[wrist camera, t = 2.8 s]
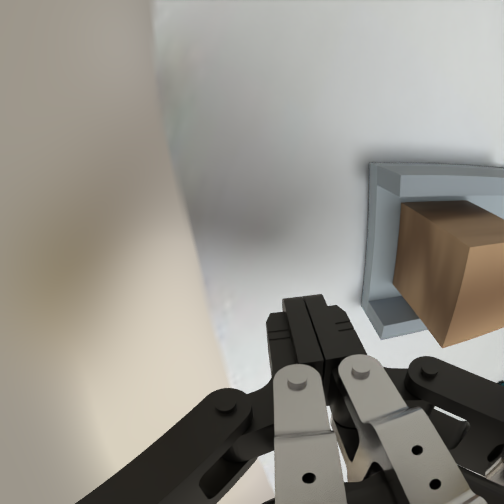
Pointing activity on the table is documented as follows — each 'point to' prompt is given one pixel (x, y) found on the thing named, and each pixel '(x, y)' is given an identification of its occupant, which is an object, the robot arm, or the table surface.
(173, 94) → the table surface
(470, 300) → the block
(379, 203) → the chute
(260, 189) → the table surface
